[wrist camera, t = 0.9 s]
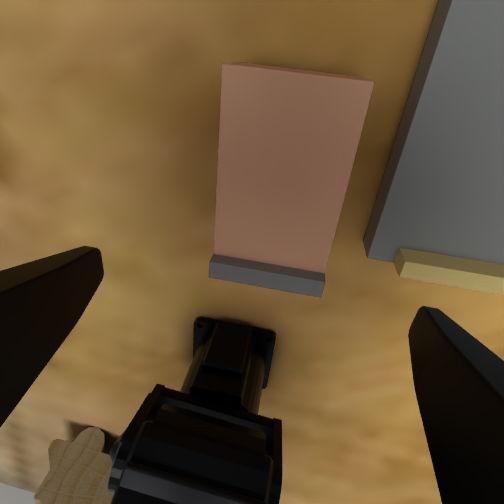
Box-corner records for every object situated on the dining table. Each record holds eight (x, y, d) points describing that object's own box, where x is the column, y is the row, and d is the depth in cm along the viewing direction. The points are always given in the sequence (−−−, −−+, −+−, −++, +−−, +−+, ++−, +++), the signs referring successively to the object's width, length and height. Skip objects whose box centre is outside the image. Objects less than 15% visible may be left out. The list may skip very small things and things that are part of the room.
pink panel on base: (320, 248, 22) (320, 297, 17) (230, 233, 22) (208, 277, 18) (361, 76, 17) (377, 83, 12) (243, 61, 17) (217, 64, 13)
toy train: (68, 417, 38) (-4, 522, 29) (211, 463, 38) (181, 581, 29) (70, 442, 41) (5, 544, 32) (203, 485, 41) (173, 598, 32)
